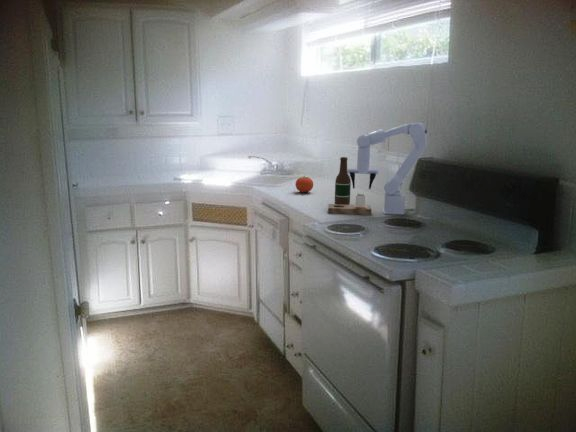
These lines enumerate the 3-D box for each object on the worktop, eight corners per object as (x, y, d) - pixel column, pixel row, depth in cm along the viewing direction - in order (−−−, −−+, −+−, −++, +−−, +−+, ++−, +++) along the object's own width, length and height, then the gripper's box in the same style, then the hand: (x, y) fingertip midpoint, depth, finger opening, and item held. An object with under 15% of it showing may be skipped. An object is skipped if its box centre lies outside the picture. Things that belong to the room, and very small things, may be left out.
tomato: (313, 194, 294) (313, 176, 291) (295, 193, 294) (295, 176, 292) (312, 191, 304) (313, 174, 301) (295, 190, 304) (295, 173, 302)
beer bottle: (341, 202, 271) (342, 156, 266) (352, 204, 266) (354, 157, 261) (331, 204, 266) (332, 157, 261) (343, 206, 261) (345, 158, 255)
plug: (364, 205, 249) (364, 193, 248) (364, 207, 245) (365, 194, 244) (355, 205, 249) (356, 193, 248) (356, 207, 245) (356, 194, 244)
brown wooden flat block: (369, 210, 252) (369, 204, 252) (371, 214, 242) (371, 208, 242) (328, 209, 254) (328, 203, 253) (328, 213, 244) (328, 207, 243)
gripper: (348, 160, 245) (346, 189, 248) (379, 161, 244) (377, 190, 247) (347, 159, 252) (346, 186, 255) (378, 160, 251) (376, 188, 254)
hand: (361, 188), depth 251 cm, fingers open, 7 cm apart
